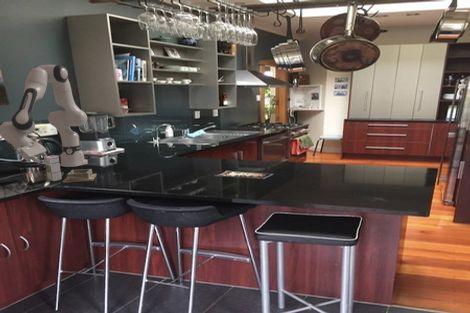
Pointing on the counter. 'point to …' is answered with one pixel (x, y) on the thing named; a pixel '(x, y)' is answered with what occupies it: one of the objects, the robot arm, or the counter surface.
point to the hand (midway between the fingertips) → (44, 160)
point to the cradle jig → (80, 176)
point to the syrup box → (52, 168)
